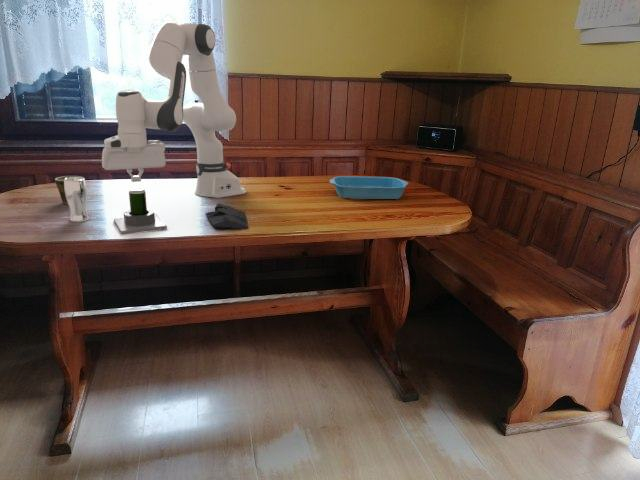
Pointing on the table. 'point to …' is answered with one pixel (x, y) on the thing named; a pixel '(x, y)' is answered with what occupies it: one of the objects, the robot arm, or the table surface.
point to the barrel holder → (139, 222)
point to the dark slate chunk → (227, 218)
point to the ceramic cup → (62, 187)
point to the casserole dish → (369, 187)
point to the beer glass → (76, 198)
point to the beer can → (138, 201)
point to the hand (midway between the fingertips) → (136, 181)
